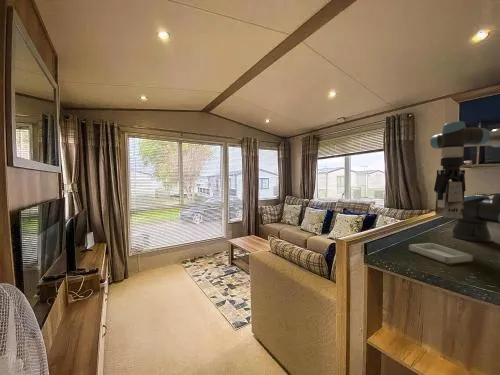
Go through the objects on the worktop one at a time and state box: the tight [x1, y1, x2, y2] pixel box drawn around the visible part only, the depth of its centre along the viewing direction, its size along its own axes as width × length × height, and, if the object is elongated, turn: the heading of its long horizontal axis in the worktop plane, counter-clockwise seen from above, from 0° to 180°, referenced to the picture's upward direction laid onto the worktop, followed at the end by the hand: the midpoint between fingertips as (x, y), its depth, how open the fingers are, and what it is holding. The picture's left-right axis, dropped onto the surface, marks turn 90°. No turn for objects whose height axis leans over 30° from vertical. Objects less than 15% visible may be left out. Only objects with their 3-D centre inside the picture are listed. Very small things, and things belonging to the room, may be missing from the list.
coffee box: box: [434, 180, 466, 219], centre depth 103 cm, size 9×6×16 cm
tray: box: [408, 242, 474, 265], centre depth 95 cm, size 13×16×2 cm
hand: (448, 206), depth 104 cm, fingers closed on coffee box, 8 cm apart
